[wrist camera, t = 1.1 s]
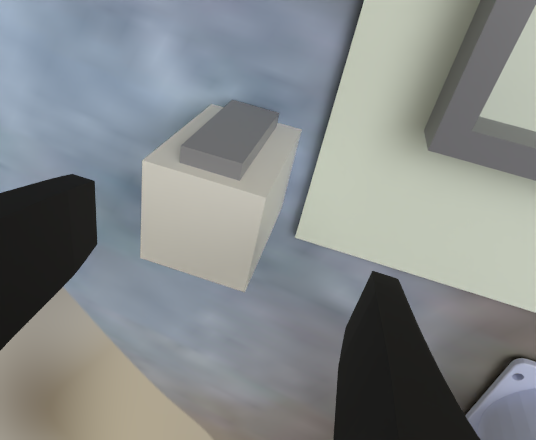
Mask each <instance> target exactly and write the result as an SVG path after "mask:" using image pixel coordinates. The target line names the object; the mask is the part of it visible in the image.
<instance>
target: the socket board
mask: <svg viewBox="0 0 536 440" xmlns="http://www.w3.org/2000/svg"><path fill="white" fill-rule="evenodd" d="M295 238H298V239H301V240H304V241H308V242H311V243H314V244H317V245H320V246H324V247H327V248H330V249H333V250H336V251H340V252H343V253H346V254H349V255H352V256H356V257H359V258H362V259H365V260H368V261H372V262H375V263H378V264H381V265H385V266H388V267H391V268H394V269H397V270H401V271H404V272H407V273H410V274H413V275H417V276H420V277H423V278H426V279H429V280H433V281H436V282H439V283H442V284H446V285H449V286H452V287H455V288H458V289H462V290H465V291H468V292H471V293H474V294H478V295H481V296H484V297H487V298H490V299H494V300H497V301H500V302H503V303H506V304H510V305H513V306H516V307H519V308H523V309H526V310H529V311H532V312H535V313H536V0H364V3H363V6H362V10H361V13H360V16H359V20H358V23H357V27H356V30H355V34H354V37H353V40H352V44H351V47H350V51H349V54H348V58H347V61H346V64H345V68H344V71H343V75H342V78H341V81H340V85H339V88H338V92H337V95H336V99H335V102H334V105H333V109H332V112H331V116H330V119H329V123H328V126H327V129H326V133H325V136H324V140H323V143H322V147H321V150H320V153H319V157H318V160H317V164H316V167H315V171H314V174H313V177H312V181H311V184H310V188H309V191H308V195H307V198H306V201H305V205H304V208H303V212H302V215H301V219H300V222H299V225H298V229H297V232H296V236H295Z"/></svg>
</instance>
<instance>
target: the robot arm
mask: <svg viewBox="0 0 536 440" xmlns="http://www.w3.org/2000/svg"><path fill="white" fill-rule="evenodd" d="M96 245H97V227H96V204H95V181H93V180H89V179H86V178H83V177H80V176H77V175H74V174H71V175H66V176H61V177H57V178H53V179H49V180H45V181H42V182H38V183H35V184H31V185H27V186H24V187H20V188H17V189H13V190H10V191H6V192H3V193H0V350H1V349H2V348H3V347H4V346H5V345H6V344H7V343H8V342H9V341H10V340H11V339H12V337H14V335H15V334H16V333H17V332H18V331H19V330H20V329H21V328H22V327H23V326H24V325H25V324H26V323H27V322H28V321H29V320H30V319H31V318H32V317H33V316H34V315H35V314H36V313H37V312H38V311H39V310H40V309H41V308H42V307H43V306H44V305H45V304H46V303H47V302H48V301H49V300H50V299H51V298H52V297H53V296H54V295H55V294H56V293H57V292H58V291H59V290H60V289H61V288H62V287H63V286H64V285H65V284H66V283H67V282H68V281H69V280H70V279H71V278H72V277H73V276H74V274H75V273H76V272H77V271H78V269H79V268H80V267H81V265H82V264H83V263H84V262H85V260H86V259H87V257H88V256H89V255H90V253H91V252H92V250H93V249H94V248H95V246H96ZM517 373H519V374H517ZM334 440H536V362H535V361H532V360H529V359H524V358H518V359H515V360H513V361H512V362H511V363H510V364H509V365H508V366H507V368H506V369H505V370H504V371H503V372H502V373H501V374H500V376H499V377H498V378H497V379H496V380H495V381H494V383H493V384H492V385H491V386H490V387H489V388H488V390H487V391H486V392H485V393H484V394H483V395H482V397H481V398H480V399H479V400H478V401H477V402H476V404H475V405H474V406H473V407H472V408H471V409H470V411H469V412H468V413H467V414H466V415H464V413H463V411H462V410H461V408H460V406H459V405H458V403H457V401H456V399H455V398H454V396H453V394H452V392H451V390H450V389H449V387H448V385H447V383H446V381H445V379H444V378H443V376H442V374H441V372H440V370H439V368H438V366H437V364H436V362H435V360H434V358H433V356H432V354H431V352H430V350H429V348H428V346H427V343H426V341H425V339H424V337H423V335H422V333H421V331H420V328H419V326H418V324H417V322H416V319H415V317H414V315H413V313H412V310H411V308H410V306H409V303H408V301H407V298H406V296H405V294H404V291H403V289H402V287H401V284H400V282H399V280H398V279H396V278H393V277H390V276H387V275H384V274H381V273H378V272H375V271H372V273H371V275H370V277H369V280H368V282H367V284H366V286H365V288H364V290H363V292H362V294H361V297H360V299H359V301H358V303H357V305H356V307H355V309H354V311H353V313H352V316H351V318H350V320H349V322H348V324H347V326H346V329H345V334H344V339H343V344H342V350H341V355H340V361H339V367H338V380H337V395H336V410H335V425H334Z"/></svg>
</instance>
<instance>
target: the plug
mask: <svg viewBox="0 0 536 440" xmlns="http://www.w3.org/2000/svg"><path fill="white" fill-rule="evenodd" d="M278 117H279V113H277V112H274V111H270V110H267V109H263V108H260V107H256V106H253V105H249V104H245V103H242V102H238V101H235V100H231V101H230V102H229V103H228V104H227V105H226V106H225V107H221V106H217V105H214V104H211V105H210V106H209V107H207V108H206V109H205V110H204V111H202V112H201V113H200V114H199V115H198V116H196V117H195V118H194V119H193V120H191V121H190V122H189V123H188V124H186V125H185V126H184V127H183V128H181V129H180V130H179V131H178V132H177V133H175V134H174V135H173V136H172V137H170V138H169V139H168V140H167V141H165V142H164V143H163V144H162V145H161V146H159V147H158V148H157V149H156V150H154V151H153V152H152V153H151V154H149V155H148V156H147V157H146V158H144V159H143V160H142V203H141V252H140V258H142V259H145V260H148V261H151V262H154V263H157V264H160V265H163V266H166V267H169V268H172V269H175V270H178V271H181V272H185V273H188V274H191V275H194V276H197V277H200V278H203V279H206V280H209V281H212V282H215V283H218V284H221V285H224V286H227V287H230V288H233V289H236V290H239V291H242V292H245V291H246V289H247V286H248V284H249V282H250V279H251V277H252V275H253V273H254V270H255V268H256V266H257V263H258V261H259V259H260V257H261V254H262V252H263V250H264V248H265V245H266V243H267V241H268V238H269V236H270V234H271V232H272V229H273V227H274V225H275V222H276V220H277V218H278V216H279V213H280V211H281V209H282V205H283V201H284V197H285V193H286V189H287V186H288V182H289V178H290V174H291V170H292V166H293V162H294V158H295V154H296V150H297V146H298V142H299V139H300V135H301V131H302V130H301V129H298V128H294V127H291V126H287V125H284V124H280V123H277V121H278Z"/></svg>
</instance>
